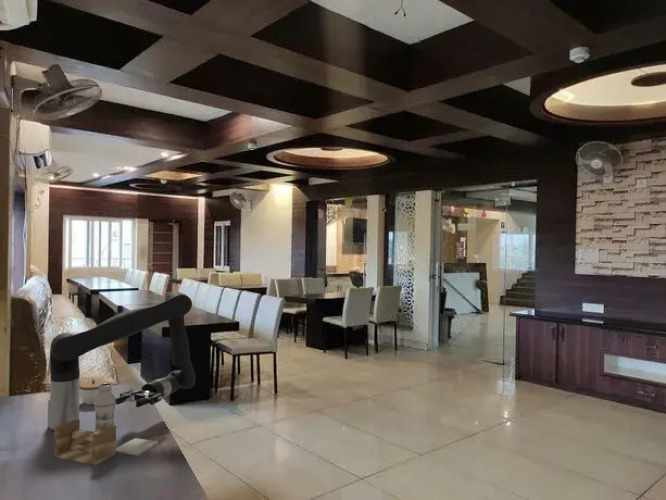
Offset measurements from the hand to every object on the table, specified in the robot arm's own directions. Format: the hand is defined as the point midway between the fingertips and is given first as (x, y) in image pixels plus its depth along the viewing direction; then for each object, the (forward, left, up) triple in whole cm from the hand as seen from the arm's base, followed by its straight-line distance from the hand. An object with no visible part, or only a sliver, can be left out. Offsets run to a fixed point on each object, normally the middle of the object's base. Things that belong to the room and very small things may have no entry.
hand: (126, 403), depth 169 cm
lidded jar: (-37, +24, -11) cm, 45 cm away
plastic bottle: (0, -10, -11) cm, 15 cm away
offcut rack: (0, -18, -11) cm, 21 cm away
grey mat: (+10, -8, -11) cm, 17 cm away
